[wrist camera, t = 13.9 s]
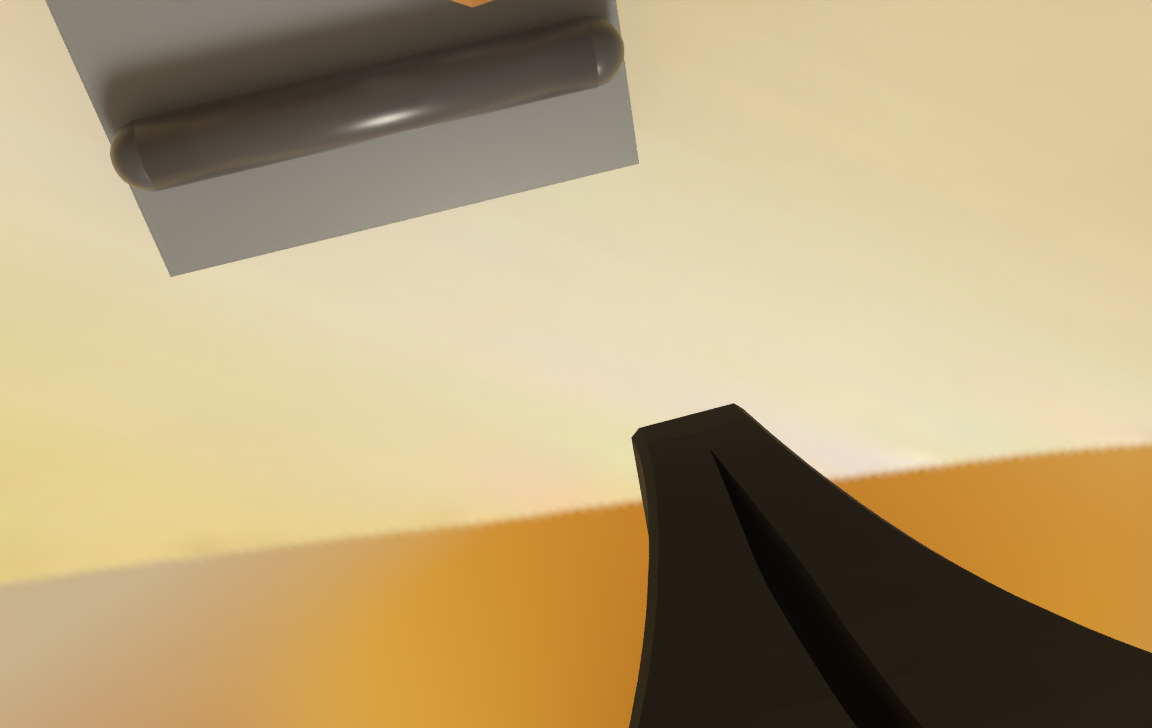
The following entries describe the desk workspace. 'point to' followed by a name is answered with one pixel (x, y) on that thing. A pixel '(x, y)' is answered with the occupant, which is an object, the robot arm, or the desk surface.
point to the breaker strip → (342, 110)
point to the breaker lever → (472, 2)
